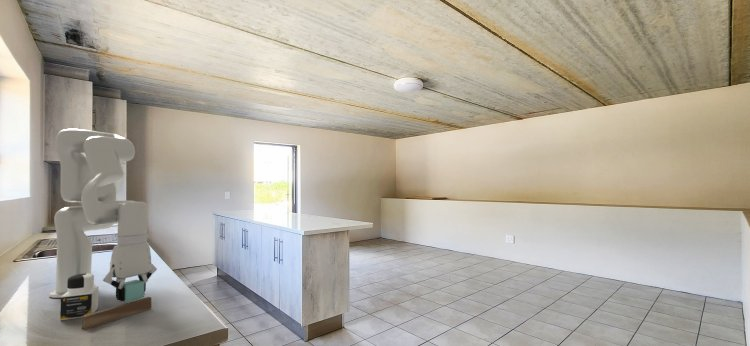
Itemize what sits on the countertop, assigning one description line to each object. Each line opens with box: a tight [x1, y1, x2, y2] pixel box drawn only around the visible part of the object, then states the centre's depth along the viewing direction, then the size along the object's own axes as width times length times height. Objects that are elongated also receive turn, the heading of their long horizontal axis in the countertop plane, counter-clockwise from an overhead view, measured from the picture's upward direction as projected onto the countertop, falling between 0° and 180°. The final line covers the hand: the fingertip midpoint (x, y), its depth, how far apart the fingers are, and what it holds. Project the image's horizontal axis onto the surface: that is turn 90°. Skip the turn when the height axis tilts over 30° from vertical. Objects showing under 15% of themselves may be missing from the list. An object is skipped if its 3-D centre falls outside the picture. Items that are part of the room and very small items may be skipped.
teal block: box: [122, 279, 145, 303], centre depth 102 cm, size 5×5×5 cm
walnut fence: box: [81, 296, 152, 331], centre depth 96 cm, size 2×17×4 cm, turn 153°
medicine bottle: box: [59, 273, 100, 321], centre depth 99 cm, size 7×7×12 cm
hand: (131, 297), depth 102 cm, fingers closed on teal block, 5 cm apart
